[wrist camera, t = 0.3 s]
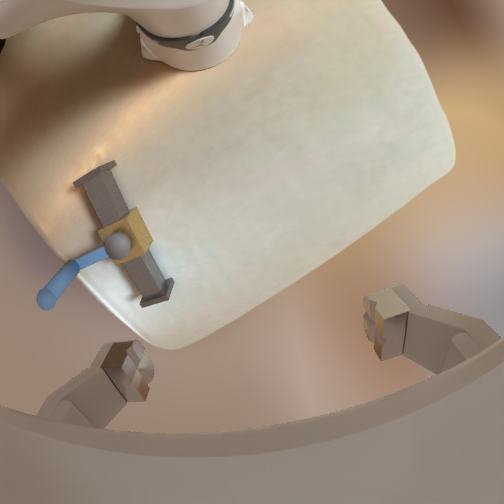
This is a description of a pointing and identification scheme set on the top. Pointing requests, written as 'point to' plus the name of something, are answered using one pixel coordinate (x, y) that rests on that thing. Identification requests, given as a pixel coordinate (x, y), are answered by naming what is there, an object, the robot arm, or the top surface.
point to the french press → (2, 43)
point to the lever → (113, 247)
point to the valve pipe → (131, 223)
